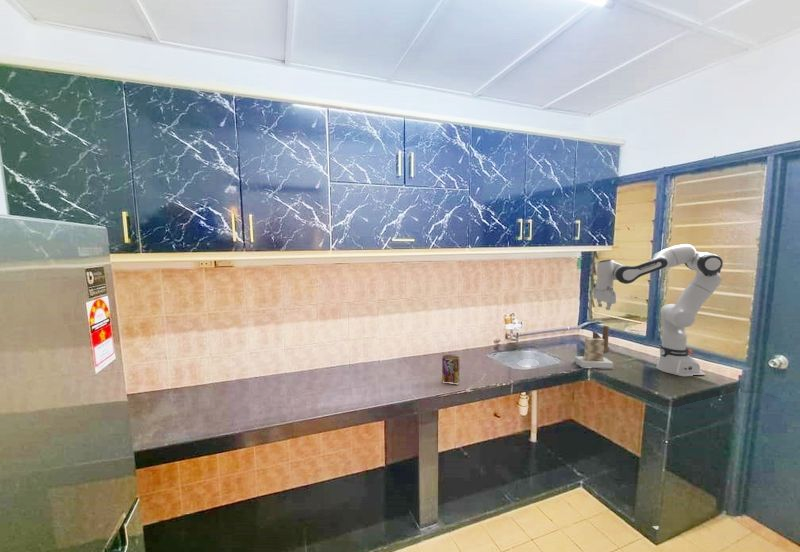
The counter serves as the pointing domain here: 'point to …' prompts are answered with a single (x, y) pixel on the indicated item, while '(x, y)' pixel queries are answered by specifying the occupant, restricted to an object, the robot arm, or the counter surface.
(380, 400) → the counter surface
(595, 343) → the mottled tan box
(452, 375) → the candy box
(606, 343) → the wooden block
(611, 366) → the end cap
